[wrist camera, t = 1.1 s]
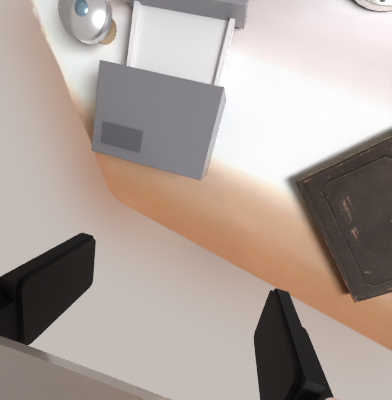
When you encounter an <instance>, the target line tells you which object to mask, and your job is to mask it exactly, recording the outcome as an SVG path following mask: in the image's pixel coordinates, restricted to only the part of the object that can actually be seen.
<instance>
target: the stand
mask: <svg viewBox="0 0 392 400" xmlns="http://www.w3.org/2000/svg"><path fill="white" fill-rule="evenodd" d="M115 36H116V24H115V22H114V20H113V19H112V23H111V27H110V30H109V32H108V34H107V35H106V37H105V38H104V39H103V40H102V41H100V43H101V44H109V43H111V42H112V41H113V40H114V38H115Z"/></svg>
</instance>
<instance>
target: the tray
mask: <svg viewBox="0 0 392 400" xmlns="http://www.w3.org/2000/svg"><path fill="white" fill-rule="evenodd" d="M127 1H128V3H129V4H130V6H131V7H132V8H133V15H132V23H131V31H130V39H129V47H128V55H127V63H126V66H129V67H134V68H138V69H143V70H148V71H152V72H157V73H161V74H166V75H170V76H175V77H179V78H184V79H188V80H193V81H197V82H202V83H206V84H211V85H216V86H220V84H221V79H222V75H223V71H224V67H225V63H226V59H227V55H228V51H229V47H230V43H231V39H232V35H233V31H234V27H238V28H244V27H245V23H246V18H247V9H248V0H127Z"/></svg>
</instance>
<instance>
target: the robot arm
mask: <svg viewBox="0 0 392 400" xmlns="http://www.w3.org/2000/svg"><path fill="white" fill-rule="evenodd" d="M355 1H356V2H357V3H358V4H359V5H361V6H363V7H365V8H367V9H371V10H376V11H391V10H392V0H355ZM95 243H96V242H95V239H94V238H93V236H92V235H88V234H85V233H80V234H78V235H76V236H74V237H72V238H71V239H69V240H67V241H65V242H64V243H61V244H60V245H58V246H56V247H54V248H52V249H50V250H49V251H47V252H45V253H43V254H41V255H39V256H38V257H36V258H34V259H32V260H30V261H28V262H26V263H25V264H23V265H21V266H19V267H17V268H15V269H14V270H12V271H10V272H8V273H6V274H4V275H3V276H1V277H0V400H171V399H168V398H166V397H163V396H160V395H158V394H155V393H153V392H150V391H147V390H145V389H142V388H140V387H137V386H134V385H132V384H129V383H126V382H124V381H121V380H118V379H116V378H113V377H110V376H108V375H105V374H102V373H100V372H97V371H95V370H92V369H89V368H87V367H84V366H81V365H79V364H76V363H73V362H71V361H68V360H65V359H62V358H60V357H57V356H54V355H51V354H49V353H46V352H43V351H41V350H38V349H35V348H33V347H30V346H27V345H29V344H31V343H32V342H33V341H34V340H35V339H36V338H37V337H38V336H39V335H41V334H42V333H43V332H44V331H45V330H46V329H47V328H48V327H49V326H50V325H51V324H52V323H53V322H54V321H55V320H56V319H57V318H58V317H59V316H60V315H61V314H62V313H64V311H66V310H67V309H68V308H69V307H70V306H71V305H72V304H73V303H74V302H75V301H76V300H77V299H78V298H79V297H80V296H81V295H82V294H83V293H84V292H85V291H86V290H87V289H88V288H89V287H90V286H91V285H92V282H93V271H94V257H95ZM254 346H255V356H256V364H257V374H258V383H259V392H260V400H340V399H336V398H334V397H333V394H332V392H331V390H330V387H329V385H328V382H327V380H326V377H325V375H324V372H323V370H322V367H321V365H320V362H319V360H318V358H317V355H316V353H315V350H314V348H313V345H312V343H311V340H310V338H309V335H308V333H307V331H306V329H304V328H303V327H302V325H301V323H300V320H299V318H298V315H297V313H296V310H295V307H294V305H293V303H292V300H291V297H290V294H289V293H288V292H287V291H283V290H280V289H275V290H274V291H272V290H271V291H270V292H269V295H268V298H267V300H266V303H265V306H264V308H263V311H262V314H261V317H260V319H259V322H258V325H257V328H256V330H255V334H254Z"/></svg>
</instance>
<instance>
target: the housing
mask: <svg viewBox="0 0 392 400" xmlns="http://www.w3.org/2000/svg"><path fill="white" fill-rule="evenodd" d="M225 102H226V97H225V90H224V87H220V86H216V85H211V84H206V83H202V82H197V81H193V80H188V79H184V78H179V77H175V76H170V75H166V74H161V73H157V72H152V71H148V70H143V69H138V68H134V67H129V66H125V65H120V64H116V63H111V62H107V61H102V60H100V64H99V75H98V86H97V97H96V108H95V119H94V130H93V140H92V151H96V152H99V153H103V154H107V155H110V156H114V157H117V158H121V159H125V160H128V161H132V162H136V163H139V164H143V165H146V166H150V167H154V168H157V169H161V170H164V171H168V172H172V173H175V174H179V175H183V176H186V177H190V178H193V179H197V180H201V179H203V178H204V177H205V176H206V175H207V171H208V167H209V163H210V159H211V156H212V152H213V148H214V144H215V140H216V136H217V132H218V129H219V125H220V121H221V117H222V113H223V109H224V106H225Z"/></svg>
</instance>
